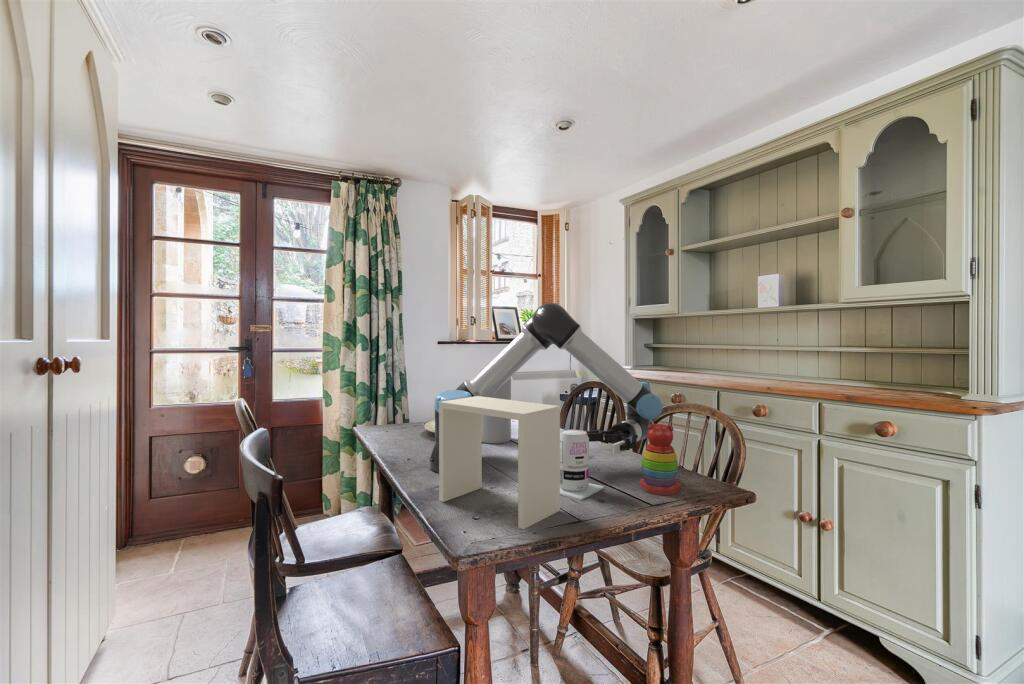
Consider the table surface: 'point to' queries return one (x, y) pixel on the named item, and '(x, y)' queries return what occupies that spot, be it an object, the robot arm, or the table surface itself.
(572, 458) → the supplement can
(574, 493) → the tile
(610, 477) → the table surface
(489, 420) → the cylinder vase
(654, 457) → the stacking bear
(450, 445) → the tunnel
